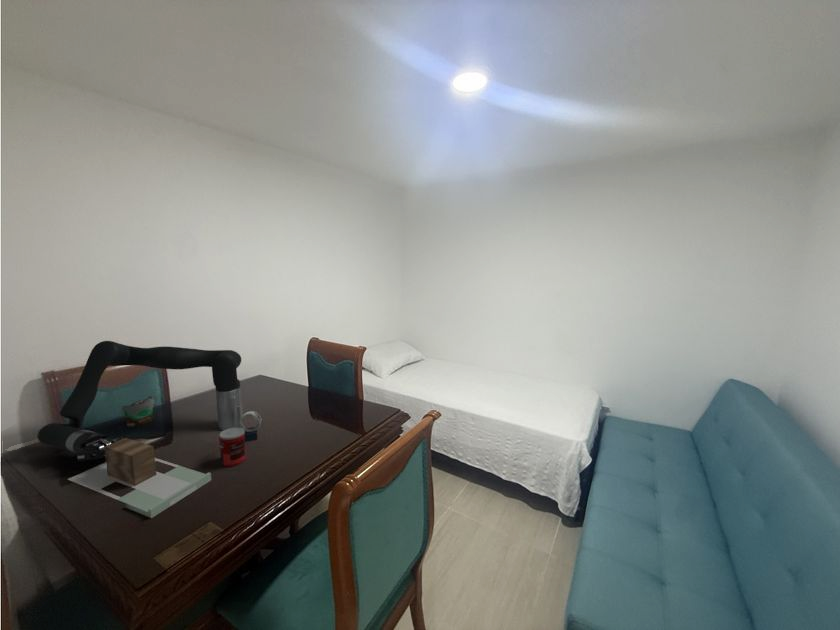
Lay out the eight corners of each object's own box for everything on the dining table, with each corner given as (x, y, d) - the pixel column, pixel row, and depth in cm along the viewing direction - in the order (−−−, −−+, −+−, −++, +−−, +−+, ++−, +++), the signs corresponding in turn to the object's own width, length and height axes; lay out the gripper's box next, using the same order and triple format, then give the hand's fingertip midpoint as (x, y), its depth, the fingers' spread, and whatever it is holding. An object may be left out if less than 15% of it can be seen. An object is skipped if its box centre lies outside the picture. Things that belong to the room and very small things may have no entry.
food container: (135, 430, 140) (133, 407, 138) (123, 428, 141) (121, 406, 140) (163, 417, 152) (161, 396, 150) (152, 416, 153) (150, 395, 152)
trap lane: (67, 483, 106) (66, 476, 105) (132, 454, 122) (132, 448, 122) (151, 518, 92) (150, 510, 92) (211, 480, 109) (210, 473, 109)
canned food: (227, 455, 123) (225, 427, 122) (249, 454, 124) (248, 427, 123) (216, 467, 116) (214, 438, 114) (240, 466, 117) (238, 437, 115)
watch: (262, 438, 136) (261, 413, 134) (240, 443, 132) (238, 416, 130) (262, 432, 141) (261, 407, 139) (240, 436, 137) (239, 411, 135)
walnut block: (107, 475, 108) (104, 446, 106) (129, 465, 114) (126, 437, 112) (135, 485, 103) (132, 456, 102) (156, 474, 109) (153, 446, 107)
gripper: (59, 441, 109) (90, 453, 103) (108, 424, 121) (138, 433, 116) (62, 462, 110) (93, 475, 104) (110, 443, 123) (140, 453, 117)
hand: (117, 453), depth 110 cm, fingers closed
